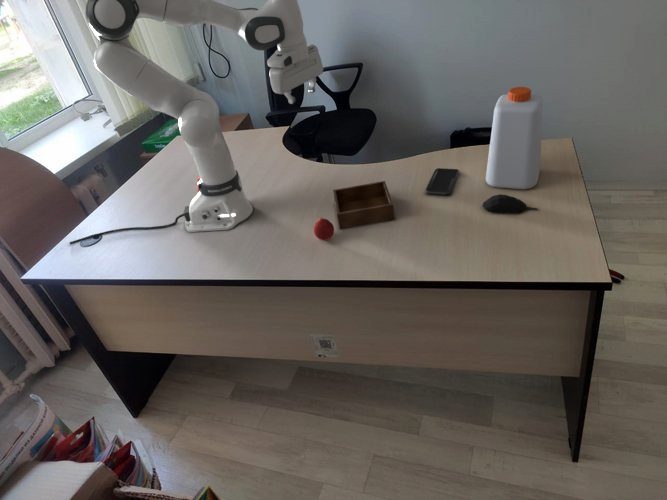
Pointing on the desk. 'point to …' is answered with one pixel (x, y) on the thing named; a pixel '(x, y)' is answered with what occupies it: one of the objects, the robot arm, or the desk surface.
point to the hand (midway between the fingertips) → (302, 97)
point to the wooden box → (363, 205)
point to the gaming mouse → (505, 204)
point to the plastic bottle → (515, 140)
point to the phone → (442, 182)
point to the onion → (323, 229)
